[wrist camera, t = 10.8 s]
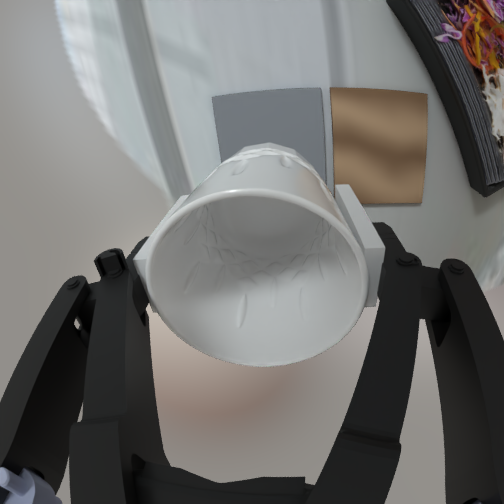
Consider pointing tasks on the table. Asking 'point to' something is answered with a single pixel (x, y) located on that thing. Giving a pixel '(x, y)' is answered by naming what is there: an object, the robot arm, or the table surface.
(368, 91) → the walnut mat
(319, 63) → the table surface
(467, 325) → the robot arm
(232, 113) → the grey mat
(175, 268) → the white cup
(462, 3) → the food platter
